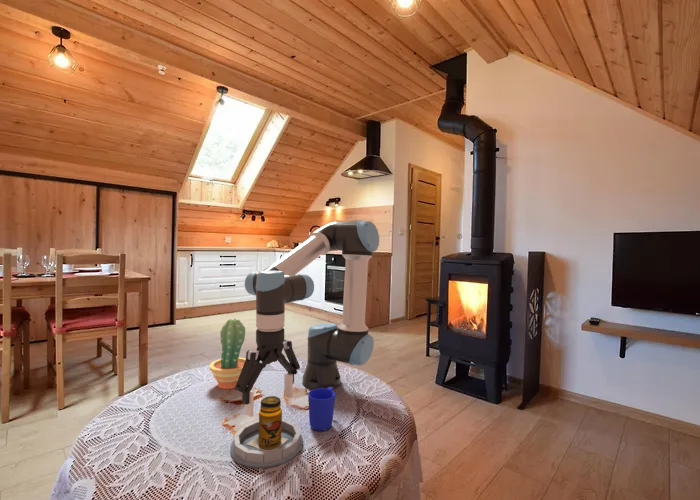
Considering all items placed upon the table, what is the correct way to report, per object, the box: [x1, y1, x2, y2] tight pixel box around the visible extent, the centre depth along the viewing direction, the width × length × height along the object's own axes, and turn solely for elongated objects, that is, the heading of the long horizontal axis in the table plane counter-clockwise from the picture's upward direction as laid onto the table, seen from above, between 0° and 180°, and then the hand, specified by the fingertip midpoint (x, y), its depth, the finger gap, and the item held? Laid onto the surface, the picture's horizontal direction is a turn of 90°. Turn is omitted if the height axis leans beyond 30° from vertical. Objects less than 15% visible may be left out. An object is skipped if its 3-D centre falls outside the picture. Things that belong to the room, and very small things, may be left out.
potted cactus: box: [208, 318, 246, 390], centre depth 133 cm, size 15×15×25 cm
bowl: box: [230, 418, 304, 469], centre depth 93 cm, size 19×19×3 cm
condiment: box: [247, 395, 288, 451], centre depth 93 cm, size 7×8×12 cm
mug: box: [307, 387, 336, 432], centre depth 106 cm, size 8×12×10 cm
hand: (269, 405), depth 94 cm, fingers open, 13 cm apart
